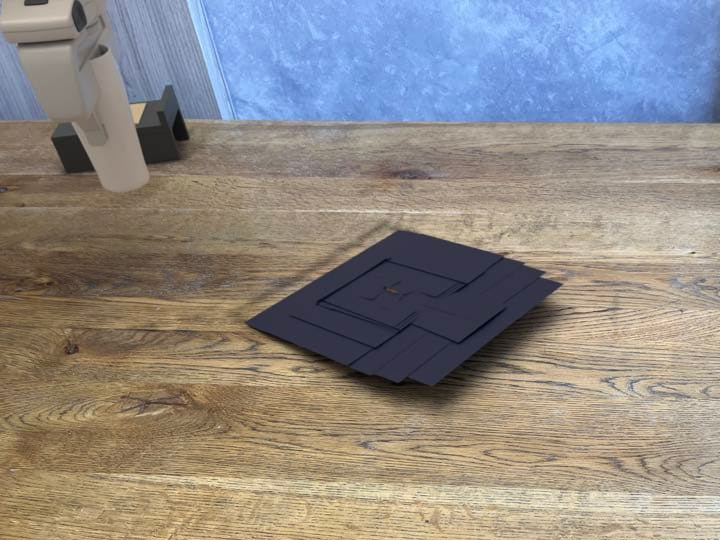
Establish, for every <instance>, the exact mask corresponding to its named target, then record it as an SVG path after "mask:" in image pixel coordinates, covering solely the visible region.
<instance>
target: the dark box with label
mask: <svg viewBox="0 0 720 540" xmlns="http://www.w3.org/2000/svg"><path fill="white" fill-rule="evenodd" d="M129 104H130V108H131V112H132V116H133V119H134V123H135V127H136V131H137V135H138V138H139V142H140V146H141V149H142V153H143V157H144V160H145V163H146V165H150V164H158V163H166V162H167V163H168V162H174V161H175V162H176V161H181V160H182V155H181V152H180V149H179V146H178V144H177V142H179V141H187V140H190V138H191V137H190V133H189V130H188V127H187V125H186V121H185V117H184V115H183V112H182V109H181V107H180V104H179V101H178V97H177V95H176V92H175V89H174V86H173V84H167V85H164V89H163V91H162V94H161V96H160V99H155V100H147V101H146V100H145V101H144V100H143V101H136V102H129ZM50 140H51V142H52V144H53V147H54V148H55V150H56V153H57V155H58V157H59V160H60V161H61V164H62V166H63V167H64V168H63V169H64V170H65V172H66V174H73V173H82V172H90V171H95V169H94V167H93V165H92V163H91V161H90V159H89V157H88V155H87V153H86V151H85V149H84V147H83V145H82V143H81V141H80V139H79V137H78V135H77V133H76V131H75V129H74V127H73V125H72V123H71V122H68V123H57V125H56V127H55V129H54V130H53V133H52V134H51V136H50Z"/></svg>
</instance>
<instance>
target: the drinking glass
mask: <svg viewBox="0 0 720 540" xmlns="http://www.w3.org/2000/svg"><path fill="white" fill-rule="evenodd" d="M99 45H100V48H101V50H102V53H103V55H102V56H100V57H97V58H95V59H92V60H90V63H91V66H92V69H93V71H94V74H95V77H96V79H97V82H98V84H99V87H100V90H101V96H100V98H99V100H98V102H97V103H96V105H95V109H96V111H97V113H96V116H97V118H98V120H99V122H100V123H101V124H104V127H105V129H106V133H107V134H108V139H107V141H106V144H105V145H103V146H91V145H90V144H89V143H88V141H87V138H86V136H85V133H84V131H83V130H82V129H81V128H80V127H79V126H78V124H77V123H76V122H71V123H72V125H73V127H74V129H75V131H76V133H77V135H78V137H79V139H80V141H81V143H82V145H83V147H84V149H85V151H86V153H87V155H88V157H89V159H90V161H91V163H92V165H93V167H94V169H95V170H94V171H95V174H96V175H97V177H98V180H99V182H100V184H101V186H102V188H103V189H104V190H106V191H108V192H111V193H116V194H117V193H119V194H120V193H121V194H122V193H123V194H124V193H129V192H134V191H136V190H139V189H141V188H142V187H144V186H145V185H147V184H148V182H149V181H150V172H149V169H148V166H147V164H146V163H145V160H144V157H143V153H142V149H141V146H140V142H139V138H138V135H137V131H136V127H135V123H134V119H133V116H132V112H131V108H130V104H129V103H130V101H129V97H128V93H127V89H126V85H125V83H124V80H123V77H122V74H121V72H120V68H119V66H118V62H117V63H116V61H115V59H114V56H113V54H112V51H111V49H110V47H108V46H107V45H104V44H99Z"/></svg>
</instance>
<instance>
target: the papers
mask: <svg viewBox="0 0 720 540" xmlns="http://www.w3.org/2000/svg"><path fill="white" fill-rule="evenodd" d="M525 264H526V262H523V261H521V260H520V261H519V260H516V259H513V258H509V257H506V256H505V255H503V254H499V253H496V252H492V251H488V250H486V249H481V248H477V247H474V246H469V245H466V244H462V243H459V242H455V241H451V240H447V239H444V238H439V237H436V236H432V235H429V234H425V233H419V232H413V231H410V230H406V229H404V230H401V229H397V230H396V231H394V232H392V233H391V234H389V235H387V236H386V237H384V238H382V239H381V240H379V241H377V242H376V243H374V244H372V245H370V246H369V247H367V248H365V249H364V250H362V251H360V252H359V253H357V254H356V255H354V256H352V257H351V258H349V259H347V260H345V261H344V262H342V263H341V264H339V265H337V266H336V267H334V268H332V269H331V270H329V271H327V272H326V273H324V274H322V275H320V276H319V277H317V278H316V279H314V280H312V281H311V282H309V283H307V284H305V285H304V286H302V287H301V288H298V290H295V291H294V292H292V293H290V294H289V295H287V296H286V297H284V298H282V299H280V300H279V301H276V303H274V304H272V305H271V306H268V307H267V308H266V309H263V311H261V312H259V313H257V314H255V315H254V316H252V317H250V318H249V319H247V320H246V321H244V324H246V325H247V326H249V327H252V328H255V329H257V330H259V331H262V332H264V333H266V334H267V333H268V334H271V335H273V336H275V337H278V338H280V339H281V340H284V341H287V342H290V343H292V344H295V345H296V346H299V347H301V348H304V349H306V350H309V351H311V352H313V353H316V354H318V355H321V356H322V357H326V358H328V359H330V360H332V361H334V362H337V363H340V364H342V365H343V366H345V367H348V368H350V369H353V370H355V371H358V372H361V373H363V374H366V375H368V376H372V375H373V374H374V375H376V376H378V377H379V376H380V377H381V378H383V379H386V380H388V381H389V380H390V381H392V382H395V383H397V384H399V383H400V382H402V381H403V380H404V379H406V378H408V379H411V380H414V381H417V382H420V383H422V384H425V385H428V386H430V387H434V386H435V385H436V384H437V383H439V382H440V381H441V380H443V379H444V378H445V377H447V375H449V374H450V373H452V372H453V371H454V370H455V369H456V368H458V367H459V366H460V365H461V364H462V363H464V362H465V361H466V360H468V359H469V358H470V357H471V356H473V355H474V354H476V353H477V352H478V351H479V350H480V349H482V348H483V347H484V346H485V345H486V344H488V343H489V342H490V341H491V340H493V339H494V338H495V337H497V336H498V335H499V334H500V333H502V332H503V331H504V330H505V329H507V328H508V327H509V326H510V325H512V324H513V323H515V322H516V321H517V320H518V319H520V318H521V317H522V316H524V315H525V314H527V313H528V312H529V311H530V310H532V309H533V308H534V307H536V306H537V305H538V304H540V303H541V302H543V301H544V300H546V299H547V298H548V297H549V296H550V295H552V294H553V293H554V292H555V291H557V290H558V289H560V288H561V287H562V286H564V283H563V282H559V281H555V280H551V279H548V278H545V277H542V276H543V275H545V274H546V273H547V271H545V270H542V269H539V268H535V267H531V266H528V265H525Z"/></svg>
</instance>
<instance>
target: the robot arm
mask: <svg viewBox="0 0 720 540" xmlns="http://www.w3.org/2000/svg"><path fill="white" fill-rule="evenodd" d="M107 10H108V5H107V2H106V0H1V6H0V30H1V33H2V35H3V37H4V39H5V41H6V42H7V43H8V44H17V45H16V51H17V56H18V59H19V62H20V64H21V67H22V69H23V71H24V73H25V76H26V78H27V80H28V82H29V84H30V86H31V88H32V90H33V92H34V94H35V96H36V98H37V101H38V102H39V105H40V106H41V108H42V110H43V112H44V113H45V114H46V116H47V117H48V118H49V119H50V120H51V121H53V122H54V123H56V124H59V123H68V122H76V123H77V124H78V126H79V127H80V128H81V129H82V130H83V131H84V133H85V136H86V138H87V141H88V143H89V144H90V145H91V146H103V145H105V144H106V141H107V139H108V134H107V133H106V129H105V127H104V124H101V123H100V122H99V120H98V118H97V116H96V113H97V111H96V109H95V105H96V103H97V102H98V100H99V98H100V96H101V90H100V87H99V84H98V82H97V79H96V77H95V74H94V71H93V69H92V66H91V63H90V60H92V59H95V58H97V57H100V56H102V55H103V53H102V50H101V48H100V45H99V44H104V45H107V46H108V47H110V49H111V51H112V54H113V56H114V59H115V61H116V63H117V64H118V61H119V60H120V58H121V49H120V45H119V41H118V39H117V36H116V34H115V31H114V28H113V25H112V23H111V21H110V18H109V15H108V13H107Z"/></svg>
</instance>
